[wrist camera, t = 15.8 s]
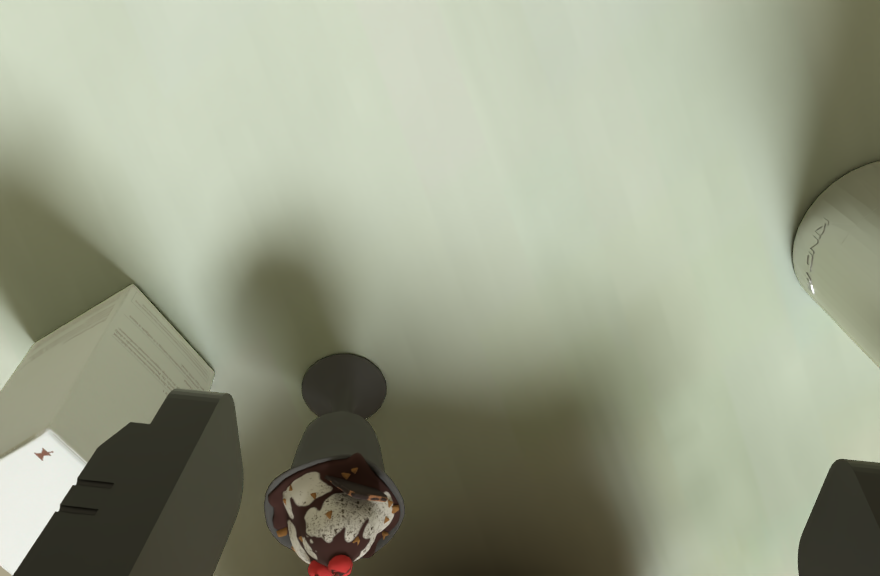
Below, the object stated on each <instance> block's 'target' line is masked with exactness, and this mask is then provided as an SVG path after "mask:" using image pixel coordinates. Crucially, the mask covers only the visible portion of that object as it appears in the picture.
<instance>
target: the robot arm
mask: <svg viewBox="0 0 880 576" xmlns="http://www.w3.org/2000/svg"><path fill="white" fill-rule="evenodd" d="M793 264H794V270H795V274H796V276H797V278H798V280H799V283H800V285H801V286H802V287H803V289H804V290H805V291H806V292H807V293H808V294H809V295H810V297H811V298H812V299H813V300H814V301H815V302H816V303H817V304H818V305H819V306H820V307H821V308H822V309H823V310H824V311H825V312H826V313H827V314H828V315H829V316H830V317H831V318H832V319H833V320H834V321H835V322H836V323H837V325H838V326H839V327H840V328H841V329H842V330H843V331H844V332H845V333H846V334H847V335H848V336H849V337H850V338H851V339H852V340H853V341H854V342H855V344H856V345H857V346H858V347H859V348H860V349H861V350H862V351H863V352H864V353H865V354H866V355H867V356H868V357H869V358H870V359H871V360H872V361H873V362H874V363H875V364H876V365H877V366H878V367H879V368H880V161H878V162H874V163H869V164H867V165H864V166H862V167H860V168H858V169H855V170H853V171H851V172H849V173H847V174H846V175H844V176H843V177H841V178H840V179H838V180H837V181H835V182H834V183H833V184H831V185H830V186H829V187H828V188H827V189H826V190H825V191H824V192H823V193H822V194H820V195H819V196H818V198H817V199H816V200H815V202H814V203H813V204H812V205H811V207H810V208H809V209H808V210H807V212H806V214H805V216H804V218H803V220H802V222H801V223H800V225H799V227H798V231H797V234H796V237H795V241H794V247H793ZM242 491H243V466H242V459H241V451H240V444H239V436H238V428H237V421H236V413H235V406H234V401H233V398H232V396H231V395H230V394H228V393H219V392H209V391H199V390H190V389H180V388H176V389H173V390H172V391H171V392H170V393H169V394H168V396H167V397H166V399H165V400H164V402H163V404H162V405H161V407H160V408H159V410H158V412H157V413H156V415H155V417H154V418H153V420H152V422H151V423H150V424H145V423H135V422H130V423H128V424H127V425H126V426H125V427H123V428H122V429H121V430H119V431H118V432H117V433H116V434H114V435H113V436H112V437H110V438H109V439H108V440H106V441H105V442H104V443H103V444H101V445H100V446H99V447H98V448H97V449H96V451H95V452H94V454H93V455H92V457H91V458H90V460H89V461H88V463H87V464H86V466H85V467H84V469H83V470H82V472H81V473H80V475H79V476H78V478H77V483H76V485H72V487H71V488H70V490H69V491H68V493H67V494H66V496H65V497H64V499H63V500H62V502H61V503H60V509H59V511H58V512H56V511H55V513H54V514H53V516H52V517H51V519H50V520H49V522H48V523H47V525H46V526H45V528H44V529H43V531H42V532H41V534H40V535H39V537H38V538H37V540H36V541H35V543H34V544H33V546H32V547H31V549H30V550H29V552H28V553H27V555H26V556H25V558H24V559H23V561H22V562H21V564H20V565H19V567H18V568H17V570H16V571H15V573H14V574H13V576H213V573H214V571H215V568H216V566H217V563H218V561H219V559H220V556H221V554H222V551H223V549H224V546H225V544H226V542H227V539H228V537H229V534H230V532H231V530H232V527H233V525H234V522H235V520H236V517H237V514H238V511H239V507H240V503H241V498H242ZM798 571H799V576H880V463H876V462H866V461H856V460H847V459H839V460H836V461H835V462H834V463H833V464H832V466H831V468H830V470H829V472H828V474H827V476H826V479H825V481H824V484H823V486H822V488H821V491H820V493H819V495H818V498H817V500H816V502H815V505H814V507H813V509H812V512H811V514H810V517H809V519H808V521H807V524H806V526H805V528H804V531H803V533H802V536H801V539H800V543H799V549H798Z"/></svg>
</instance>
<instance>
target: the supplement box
mask: <svg viewBox="0 0 880 576" xmlns="http://www.w3.org/2000/svg"><path fill="white" fill-rule="evenodd" d="M214 376H215V372H214V371H213V370H212V369H211V368H210V367H209V366H208V365H207V363H206V362H205V361H204V360H203V359H202V358H201V357H200V356H199V355H198V353H197V352H196V351H195V350H194V349H193V348H192V347H191V346H190V345H189V344H188V343H187V342H186V340H185V339H184V338H183V337H182V336H181V335H180V334H179V333H178V332H177V331H176V330H175V328H174V327H173V326H172V325H171V324H170V323H169V322H168V321H167V320H166V319H165V318H164V316H163V315H162V314H161V313H160V312H159V311H158V310H157V309H156V308H155V307H154V305H153V304H152V303H151V302H150V301H149V300H148V299H147V298H146V297H145V296H144V295H143V293H142V292H141V291H140V290H139V289H138V288H137V287H136V286H135V285H134V284H131V285H130V286H128V287H126V288H124V289H123V290H121V291H119V292H118V293H116V294H114V295H113V296H111V297H109V298H108V299H106V300H105V301H103V302H101V303H100V304H98V305H96V306H94V307H93V308H91V309H90V310H88V311H86V312H85V313H83V314H81V315H80V316H78V317H76V318H75V319H73V320H71V321H70V322H68V323H67V324H65V325H63V326H61V327H60V328H58V329H57V330H55V331H54V332H52V333H50V334H48V335H47V336H45V337H43V338H42V339H40V340H39V341H37V342H35V343H34V344H33V345H32V347H31V348H30V350H29V351H28V353H27V354H26V356H25V357H24V358H23V360H22V361H21V363H20V364H19V366H18V367H17V368H16V370H15V371H14V373H13V374H12V376H11V377H10V378H9V380H8V381H7V383H6V384H5V386H4V387H3V389H2V390H1V391H0V566H1V567H2V568H4V569H5V570H6V571H8V572H9V573H10V574H11V575H13V574H14V573H15V571H16V570H17V568H18V567H19V565H20V564H21V562H22V561H23V559H24V558H25V556H26V555H27V553H28V552H29V550H30V549H31V547H32V546H33V544H34V543H35V541H36V540H37V538H38V537H39V535H40V534H41V532H42V531H43V529H44V528H45V526H46V525H47V523H48V522H49V520H50V519H51V517H52V516H53V514H54V513H55V511H56V512H58V511H59V509H60V503H61V502H62V500H63V499H64V497H65V496H66V494H67V493H68V491H69V490H70V488H71V487H72V485H76V483H77V478H78V476H79V475H80V473H81V472H82V470H83V469H84V467H85V466H86V464H87V463H88V461H89V460H90V458H91V457H92V455H93V454H94V452H95V451H96V449H97V448H98V447H99V446H100V445H101V444H103V443H104V442H105V441H106V440H108V439H109V438H110V437H112V436H113V435H114V434H116V433H117V432H118V431H119V430H121V429H122V428H123V427H125V426H126V425H127V424H128V423H130V422H135V423H145V424H150V423H151V422H152V420H153V418H154V417H155V415H156V413H157V412H158V410H159V408H160V407H161V405H162V404H163V402H164V400H165V399H166V397H167V396H168V394H169V393H170V392H171V391H172V390H173V389H176V388H180V389H190V390H199V391H209V392H210V389H211V385H212V382H213V379H214Z"/></svg>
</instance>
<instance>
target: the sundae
mask: <svg viewBox="0 0 880 576" xmlns="http://www.w3.org/2000/svg"><path fill="white" fill-rule="evenodd" d="M302 394H303V398H304V400H305V402H306V404H307V405H308V407H309V408H310V410H312V411H313V412H314V413H315V414H316V415H318V416H319V417H318V418H317V419H315V420H314V421H312V422H311V423H310V424H309V425H308V427H307V429H306V431H305V433H304V435H303V437H302V439H301V441H300V444H299V446H298V449H297V452H296V455H295V458H294V461H293V464H292V467H291V469H289V470H287V471H286V472H284V473H282V474H281V475H279V476H278V477H277V478H275V479H274V480H273V481H272V483H271V484H270V485H269V487H268V490H267V492H266V496H265V502H264V510H265V517H266V522H267V526H268V528H269V529H270V531H271V533H272V534H273V536H274V537H275V538H276V539H277V540H278V541H279V542H280V543H281V544H283V545H284V546H286V547H288V548H289V549H292V550H294V551H295V552H296V553H297V555H298V556H299V557H300V558H301V559H302V560H303V561H304V562H306V563H308V564H309V567H308V573H309V575H310V576H333V575H334V576H347V575H349V574H350V573H351V570H352V566H353V562H354V561H356V560H358V559H361V558H369V557H371V556H373V555H374V553H376V552H377V551H378V550H379V549H381V548H382V547H383V546H384V545H386V544H387V543H388V542H389V540H390V539H391V538H392V537H393V536H394V535H395V533H396V531H397V530H398V528H399V527H400V525H401V523H402V520H403V517H404V514H405V507H404V502H403V498H402V496H401V494H400V492H399V490H398V489H397V487H396V486H395V484H394V483H393V481H392V480H391V479H390V478H389V476H388V475H387V474H386V473H385V471H384V466H383V460H382V455H381V449H380V445H379V443H378V440H377V437H376V434H375V432H374V430H373V428H372V426H371V425H370V424H369V423H368V422H367V421H366V420H365V419H366V418H368V417H370V416H371V415H372V414H374V413H375V412H376V411H377V410H378V409H379V408H380V407H381V405H382V403H383V401H384V399H385V396H386V381H385V379H384V377H383V375H382V373H381V372H380V370H379V369H378V368H377V367H376V366H375V365H374V364H373V363H371V362H370V361H368V360H367V359H364V358H362V357H359V356H355V355H351V354H337V355H331V356H328V357H325V358H323V359H321V360H319V361H317V362H316V363H315V364H314V365H312V366H311V367H310V368H309V370H308V371H307V372H306V374H305V376H304V379H303V382H302Z"/></svg>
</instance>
